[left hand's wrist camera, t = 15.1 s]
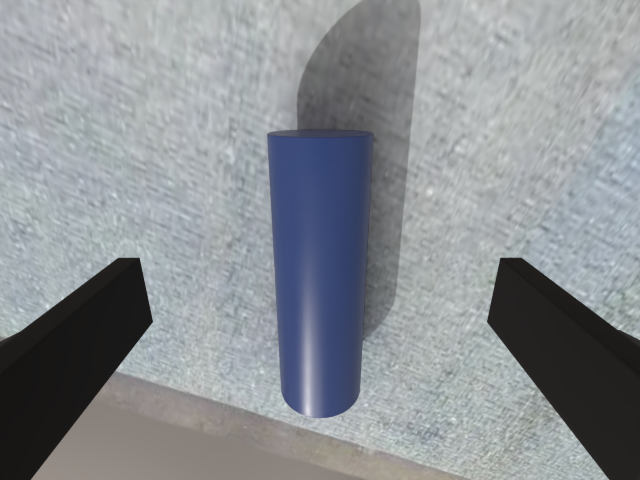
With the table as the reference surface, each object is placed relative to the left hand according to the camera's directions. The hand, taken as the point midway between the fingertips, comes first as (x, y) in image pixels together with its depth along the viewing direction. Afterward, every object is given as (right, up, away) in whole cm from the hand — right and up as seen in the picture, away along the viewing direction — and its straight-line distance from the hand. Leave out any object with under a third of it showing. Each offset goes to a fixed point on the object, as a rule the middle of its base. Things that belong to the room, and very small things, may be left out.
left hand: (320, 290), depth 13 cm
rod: (0, 0, +25) cm, 25 cm away
